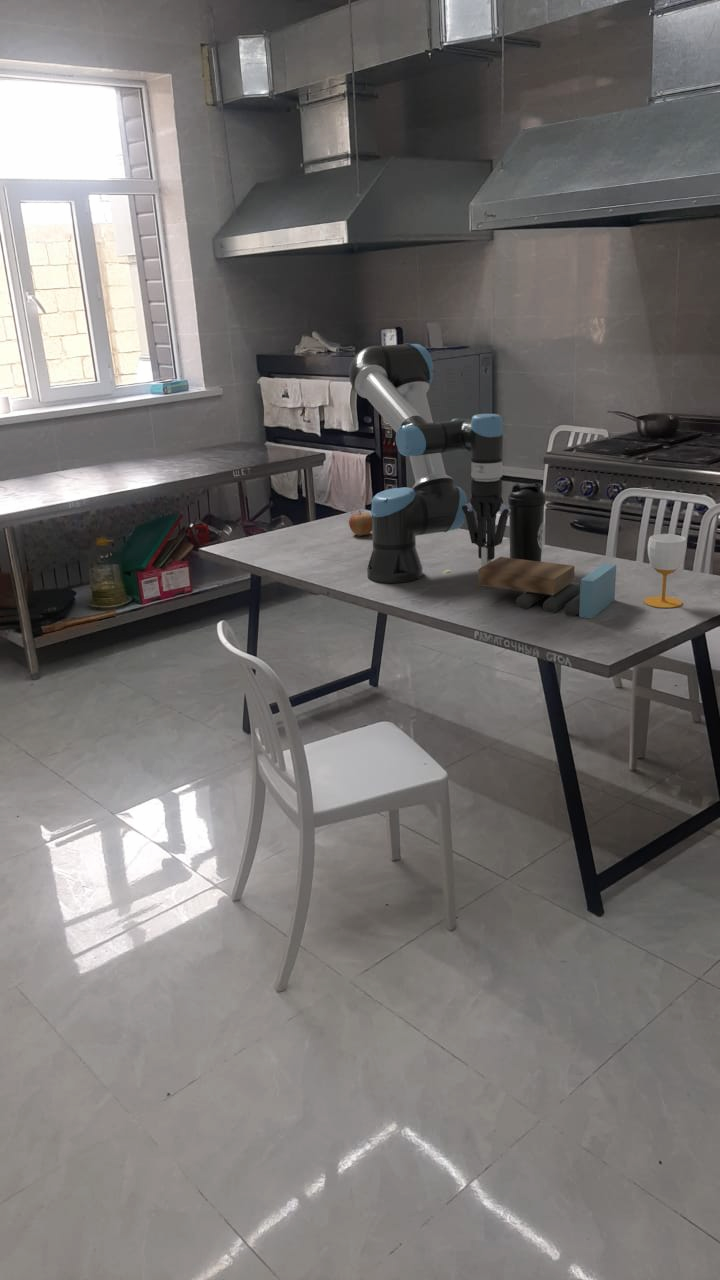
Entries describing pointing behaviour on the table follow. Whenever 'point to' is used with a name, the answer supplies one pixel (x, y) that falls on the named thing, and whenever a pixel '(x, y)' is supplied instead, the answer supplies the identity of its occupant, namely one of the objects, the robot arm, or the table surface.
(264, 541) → the table surface
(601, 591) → the block
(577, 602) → the cylinder
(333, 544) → the table surface
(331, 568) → the table surface
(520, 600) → the roller rear
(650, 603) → the cup
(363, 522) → the apple
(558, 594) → the roller mid
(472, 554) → the table surface
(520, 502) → the water bottle
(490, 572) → the slab
